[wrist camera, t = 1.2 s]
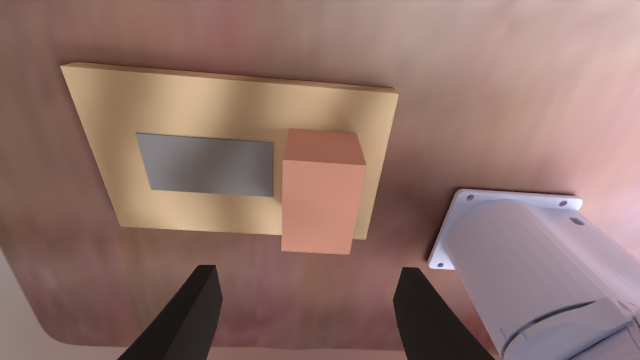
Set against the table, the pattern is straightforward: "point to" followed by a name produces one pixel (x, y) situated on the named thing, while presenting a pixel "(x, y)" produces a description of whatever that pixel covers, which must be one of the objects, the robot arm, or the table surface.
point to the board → (215, 142)
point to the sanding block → (321, 190)
